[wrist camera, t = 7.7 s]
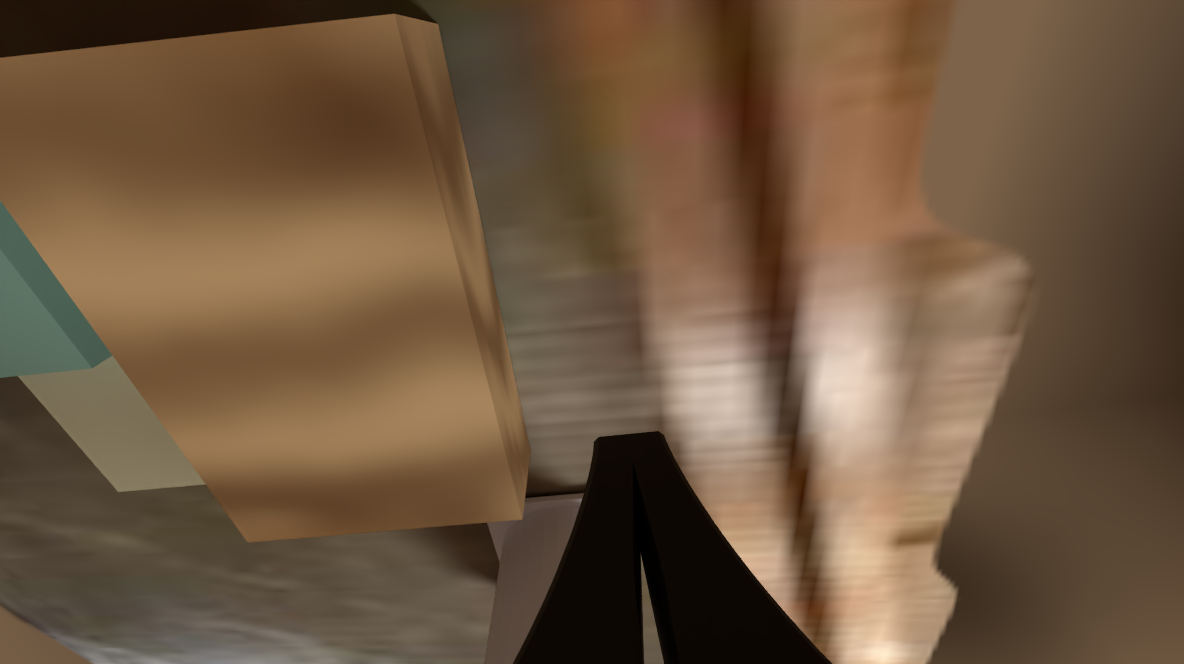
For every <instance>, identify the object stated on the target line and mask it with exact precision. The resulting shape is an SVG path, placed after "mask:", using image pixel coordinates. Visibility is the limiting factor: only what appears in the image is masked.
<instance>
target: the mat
mask: <svg viewBox="0 0 1184 664" xmlns="http://www.w3.org/2000/svg"><path fill="white" fill-rule="evenodd" d="M18 377H19V378H20V379H21V380H22V381H23V383H24V384H25V385H26V386H27V387H28V388H29V390H30V391H31V392H32V393H33V394H34V395H35V396H36V398H37V399H38V400H39V401H40V402H41V403H42V405H43V406H44V407H45V408H46V409H47V410H48V411H49V413H50V414H51V415H52V416H53V417H54V418H55V420H56V421H57V422H58V423H59V424H60V425H61V426H62V428H63V429H64V430H65V431H66V432H67V433H68V435H69V436H70V437H71V438H72V439H73V440H74V441H75V443H76V444H77V445H78V446H79V447H80V448H81V450H82V451H83V452H84V453H85V454H86V455H87V456H88V458H89V459H90V460H91V461H92V462H93V463H94V465H95V466H96V467H97V468H98V469H99V470H100V471H101V473H102V474H103V475H104V476H105V477H106V478H107V480H108V481H109V482H110V483H111V484H112V485H113V486H114V488H115V489H116V490H117V491H118V492H123V491H135V490H146V489H158V488H169V487H181V486H192V485H204V484H205V483H204V481H203V480H202V479H201V477H200V476H199V474H198V473H197V472H196V470H195V469H194V467H193V466H192V465H191V463H190V462H189V461H188V459H187V458H186V456H185V455H184V454H183V452H182V451H181V450H180V448H179V447H178V445H177V444H176V443H175V441H174V440H173V438H172V437H171V436H170V434H169V433H168V432H167V430H166V429H165V427H164V426H163V425H162V423H161V422H160V420H159V419H158V418H157V416H156V415H155V414H154V412H153V411H152V409H151V408H150V407H149V405H148V404H147V402H146V401H145V400H144V398H143V397H142V396H141V394H140V393H139V391H138V390H137V389H136V387H135V386H134V384H133V383H132V382H131V380H130V379H129V378H128V376H127V375H126V373H125V372H124V371H123V369H122V368H121V367H120V365H119V364H118V362H117V361H116V360H115V358H114V357H113V356H111V357H109V358H108V359H106V360H105V361H103V362H102V363H100V364H98V365H97V366H95V367H94V368H92V369H82V370H72V371H62V372H52V373H43V374H33V375H23V376H18Z"/></svg>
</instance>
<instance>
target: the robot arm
mask: <svg viewBox="0 0 1184 664" xmlns="http://www.w3.org/2000/svg"><path fill="white" fill-rule="evenodd" d="M487 524H488V527H489V530H490V534H491V537H492V540H493V543H494V547H495V550H496V553H497V556H498V559H499V563H500V565H499V572H498V578H497V585H496V591H495V598H494V604H493V610H492V617H491V623H490V630H489V636H488V642H487V649H486V655H485V662H484V664H644V644H643V613H642V582H641V556H642V561H643V566H644V571H645V575H646V580H647V585H648V590H649V594H650V599H651V604H652V608H653V613H654V618H655V622H656V627H657V632H658V637H659V641H660V646H661V651H662V655H663V660H664V664H832V663H831V662H830V661H829V660H828V659H827V658H826V657H825V656H824V655H823V654H822V653H821V652H820V651H819V650H818V649H817V647H816V646H815V645H814V644H813V643H812V642H811V641H810V640H809V639H808V638H807V636H806V635H805V634H804V633H803V632H802V631H801V630H800V629H799V628H798V626H797V625H796V624H795V623H794V622H793V621H792V620H791V619H790V618H789V616H788V615H787V614H786V613H785V612H784V611H783V610H782V608H781V607H780V606H779V605H778V604H777V602H776V601H775V600H774V599H773V598H772V597H771V595H770V594H769V593H768V592H767V591H766V590H765V588H764V587H763V586H762V585H761V583H760V582H759V581H758V580H757V579H756V577H755V576H754V575H753V574H752V572H751V571H750V570H749V568H748V567H747V566H746V565H745V563H744V562H743V561H742V560H741V558H740V557H739V556H738V554H737V553H736V552H735V550H734V549H733V548H732V546H731V545H730V544H729V542H728V541H727V540H726V538H725V537H724V535H723V534H722V533H721V531H720V530H719V528H718V527H717V526H716V524H715V523H714V521H713V520H712V518H711V517H710V515H709V514H708V512H707V511H706V509H705V508H704V506H703V505H702V503H701V502H700V500H699V499H698V497H697V496H696V494H695V493H694V491H693V489H692V488H691V486H690V485H689V483H688V481H687V480H686V478H685V476H684V474H683V473H682V471H681V469H680V468H679V466H678V464H677V462H676V460H675V458H674V456H673V454H672V452H671V450H670V448H669V446H668V444H667V442H666V439H665V437H664V435H663V434H662V433H660V432H659V431H656V432H645V433H635V434H625V435H614V436H604V437H599V438H597V439H596V440H595V441H594V449H593V456H592V462H591V467H590V472H589V476H588V480H587V484H586V488H585V491H584V493H579V494H567V495H555V496H544V497H532V498H525V503H524V511H523V519H522V520H511V521H499V522H487Z"/></svg>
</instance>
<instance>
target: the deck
mask: <svg viewBox="0 0 1184 664" xmlns="http://www.w3.org/2000/svg"><path fill="white" fill-rule="evenodd" d="M0 201H1V202H2V203H3V205H4V206H5V207H6V209H7V210H8V212H9V213H10V214H11V216H12V217H13V219H14V220H15V221H16V223H17V224H18V225H19V227H20V228H21V230H22V231H23V232H24V234H25V235H26V236H27V238H28V239H29V241H30V242H31V243H32V245H33V246H34V248H35V249H36V250H37V252H38V253H39V254H40V256H41V257H42V259H43V260H44V261H45V263H46V264H47V266H48V267H49V268H50V270H51V271H52V272H53V274H54V275H55V277H56V278H57V279H58V281H59V282H60V284H61V285H62V286H63V288H64V289H65V290H66V292H67V293H68V295H69V296H70V297H71V299H72V300H73V302H74V303H75V304H76V306H77V307H78V308H79V310H80V311H81V313H82V314H83V315H84V317H85V318H86V319H87V321H88V322H89V324H90V325H91V326H92V328H93V329H94V331H95V332H96V333H97V335H98V336H99V337H100V339H101V340H102V342H103V343H104V344H105V346H106V347H107V349H108V350H109V351H110V353H111V354H112V355H113V357H114V358H115V360H116V361H117V362H118V364H119V365H120V367H121V368H122V369H123V371H124V372H125V373H126V375H127V376H128V378H129V379H130V380H131V382H132V383H133V384H134V386H135V387H136V389H137V390H138V391H139V393H140V394H141V396H142V397H143V398H144V400H145V401H146V402H147V404H148V405H149V407H150V408H151V409H152V411H153V412H154V414H155V415H156V416H157V418H158V419H159V420H160V422H161V423H162V425H163V426H164V427H165V429H166V430H167V432H168V433H169V434H170V436H171V437H172V438H173V440H174V441H175V443H176V444H177V445H178V447H179V448H180V450H181V451H182V452H183V454H184V455H185V456H186V458H187V459H188V461H189V462H190V463H191V465H192V466H193V467H194V469H195V470H196V472H197V473H198V474H199V476H200V477H201V479H202V480H203V481H204V483H205V484H206V485H207V487H208V488H209V490H210V491H211V492H212V494H213V495H214V497H215V498H216V499H217V501H218V502H219V503H220V505H221V506H222V508H223V509H224V510H225V512H226V513H227V515H228V516H229V517H230V519H231V520H232V521H233V523H234V524H235V526H236V527H237V528H238V530H239V531H240V533H241V534H242V535H243V537H244V538H245V539H246V541H247V542H259V541H271V540H283V539H295V538H307V537H319V536H331V535H343V534H355V533H367V532H379V531H391V530H403V529H415V528H427V527H439V526H451V525H463V524H475V523H487V522H499V521H511V520H522V519H523V511H524V503H525V495H526V486H527V478H528V470H529V462H530V454H531V451H530V446H529V442H528V437H527V432H526V428H525V423H524V419H523V414H522V409H521V405H520V400H519V395H518V391H517V386H516V382H515V377H514V372H513V368H512V363H511V358H510V354H509V349H508V345H507V340H506V335H505V331H504V326H503V321H502V317H501V312H500V308H499V303H498V298H497V294H496V289H495V284H494V280H493V275H492V271H491V266H490V261H489V257H488V252H487V248H486V243H485V238H484V234H483V229H482V224H481V220H480V215H479V211H478V206H477V201H476V197H475V192H474V187H473V183H472V178H471V174H470V169H469V164H468V160H467V155H466V150H465V146H464V141H463V137H462V132H461V127H460V123H459V118H458V113H457V109H456V104H455V100H454V95H453V90H452V86H451V81H450V76H449V72H448V67H447V63H446V58H445V53H444V49H443V44H442V39H441V35H440V30H439V26H438V24H435V23H431V22H427V21H423V20H419V19H414V18H410V17H406V16H402V15H397V14H388V15H379V16H370V17H361V18H352V19H343V20H334V21H325V22H316V23H307V24H298V25H289V26H281V27H272V28H263V29H254V30H245V31H236V32H227V33H218V34H209V35H200V36H191V37H182V38H173V39H164V40H155V41H147V42H138V43H129V44H120V45H111V46H102V47H93V48H84V49H75V50H66V51H57V52H48V53H39V54H30V55H21V56H12V57H4V58H0Z"/></svg>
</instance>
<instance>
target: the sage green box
mask: <svg viewBox="0 0 1184 664" xmlns="http://www.w3.org/2000/svg"><path fill="white" fill-rule="evenodd" d="M111 356H113V355H112V354H111V353H110V351H109V350H108V349H107V347H106V346H105V344H104V343H103V342H102V340H101V339H100V337H99V336H98V335H97V333H96V332H95V331H94V329H93V328H92V326H91V325H90V324H89V322H88V321H87V319H86V318H85V317H84V315H83V314H82V313H81V311H80V310H79V308H78V307H77V306H76V304H75V303H74V302H73V300H72V299H71V297H70V296H69V295H68V293H67V292H66V290H65V289H64V288H63V286H62V285H61V284H60V282H59V281H58V279H57V278H56V277H55V275H54V274H53V272H52V271H51V270H50V268H49V267H48V266H47V264H46V263H45V261H44V260H43V259H42V257H41V256H40V254H39V253H38V252H37V250H36V249H35V248H34V246H33V245H32V243H31V242H30V241H29V239H28V238H27V236H26V235H25V234H24V232H23V231H22V230H21V228H20V227H19V225H18V224H17V223H16V221H15V220H14V219H13V217H12V216H11V214H10V213H9V212H8V210H7V209H6V207H5V206H4V205H3V203H2V202H1V201H0V378H3V377H13V376H23V375H33V374H43V373H52V372H62V371H72V370H82V369H92V368H94V367H95V366H97V365H98V364H100V363H102V362H103V361H105V360H106V359H108V358H109V357H111Z"/></svg>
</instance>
